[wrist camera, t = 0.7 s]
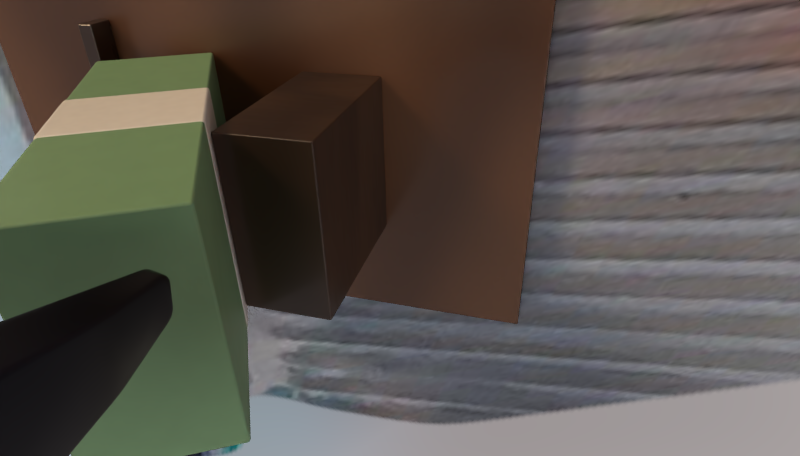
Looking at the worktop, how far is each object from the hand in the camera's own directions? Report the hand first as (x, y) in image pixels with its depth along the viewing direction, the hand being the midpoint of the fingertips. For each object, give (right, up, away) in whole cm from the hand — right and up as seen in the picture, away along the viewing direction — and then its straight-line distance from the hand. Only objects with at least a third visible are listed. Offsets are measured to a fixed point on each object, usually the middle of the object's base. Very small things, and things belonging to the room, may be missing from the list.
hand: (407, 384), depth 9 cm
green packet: (-6, +6, +13) cm, 15 cm away
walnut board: (-6, +6, +14) cm, 16 cm away
